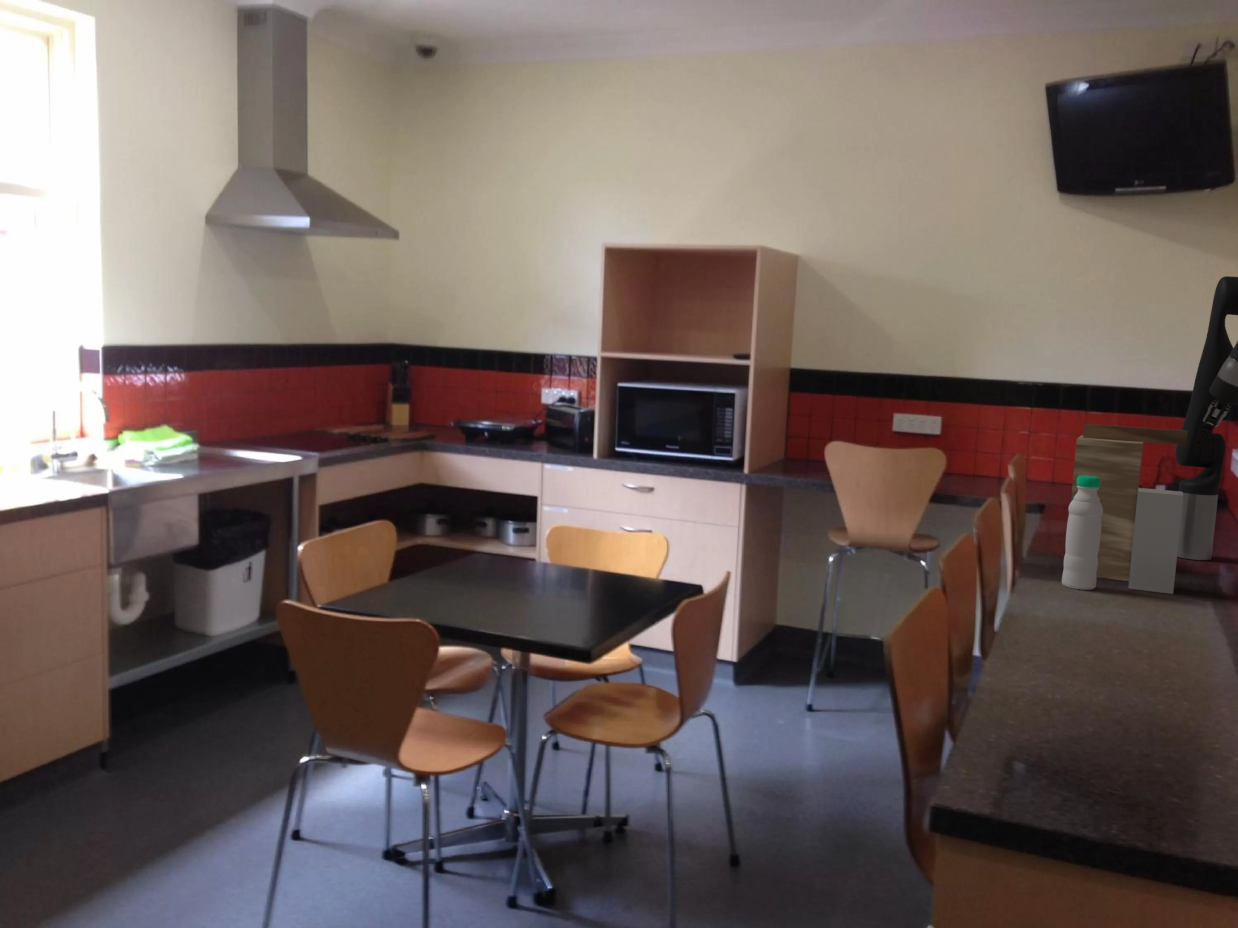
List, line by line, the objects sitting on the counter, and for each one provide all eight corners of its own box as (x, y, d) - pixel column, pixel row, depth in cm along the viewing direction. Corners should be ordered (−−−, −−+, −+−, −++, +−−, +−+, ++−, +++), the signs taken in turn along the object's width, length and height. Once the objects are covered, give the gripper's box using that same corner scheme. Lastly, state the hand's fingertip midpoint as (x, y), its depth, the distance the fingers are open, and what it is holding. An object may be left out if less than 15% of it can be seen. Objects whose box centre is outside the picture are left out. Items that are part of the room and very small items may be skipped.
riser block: (1129, 581, 250) (1138, 487, 247) (1172, 587, 246) (1182, 491, 243) (1128, 588, 242) (1137, 491, 240) (1173, 593, 239) (1183, 495, 236)
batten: (1084, 437, 262) (1085, 423, 262) (1185, 444, 253) (1187, 430, 252) (1083, 437, 259) (1084, 424, 259) (1186, 445, 250) (1187, 431, 249)
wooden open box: (1069, 561, 273) (1081, 435, 269) (1130, 568, 267) (1143, 439, 263) (1064, 573, 257) (1076, 439, 253) (1129, 581, 251) (1142, 444, 247)
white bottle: (1094, 585, 244) (1104, 475, 241) (1096, 592, 237) (1107, 479, 234) (1060, 582, 246) (1070, 473, 243) (1062, 588, 239) (1072, 476, 237)
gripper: (1248, 394, 236) (1212, 457, 244) (1257, 379, 247) (1221, 439, 255) (1213, 379, 239) (1178, 442, 247) (1223, 365, 250) (1189, 425, 258)
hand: (1200, 440), depth 251 cm, fingers open, 8 cm apart
